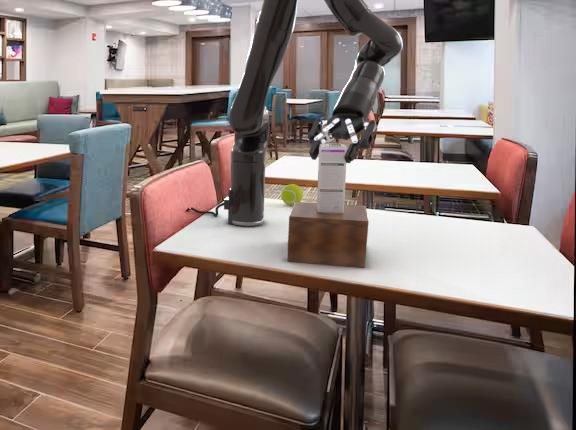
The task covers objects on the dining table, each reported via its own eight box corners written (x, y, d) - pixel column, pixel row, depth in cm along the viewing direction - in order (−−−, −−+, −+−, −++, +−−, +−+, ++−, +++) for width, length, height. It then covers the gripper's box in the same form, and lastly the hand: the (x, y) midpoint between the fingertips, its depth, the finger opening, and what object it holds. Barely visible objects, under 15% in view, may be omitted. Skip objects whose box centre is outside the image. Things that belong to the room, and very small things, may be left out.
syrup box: (344, 214, 116) (348, 146, 112) (315, 212, 117) (319, 145, 113) (342, 208, 121) (346, 143, 118) (315, 206, 122) (319, 142, 119)
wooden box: (287, 261, 116) (289, 216, 114) (293, 242, 130) (295, 201, 128) (364, 267, 112) (368, 221, 110) (362, 247, 126) (365, 205, 124)
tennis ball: (278, 206, 168) (278, 185, 166) (283, 202, 174) (284, 181, 172) (299, 208, 165) (300, 186, 163) (304, 204, 171) (305, 183, 169)
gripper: (321, 89, 123) (294, 145, 117) (384, 90, 114) (357, 150, 108) (331, 112, 128) (304, 166, 122) (391, 114, 119) (365, 173, 113)
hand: (329, 159), depth 115 cm, fingers closed on syrup box, 7 cm apart
